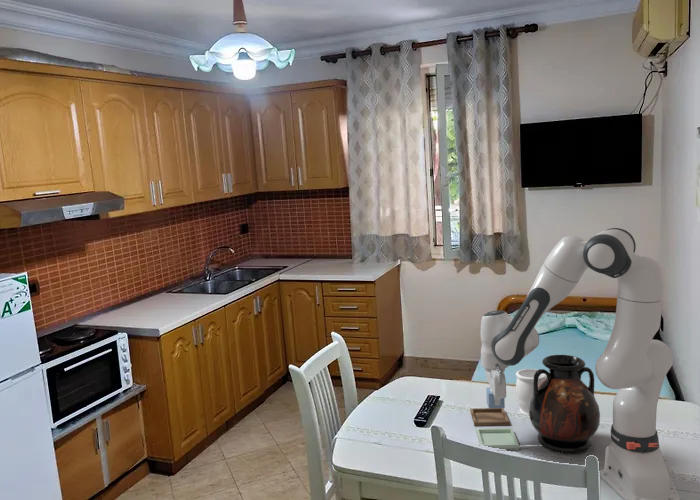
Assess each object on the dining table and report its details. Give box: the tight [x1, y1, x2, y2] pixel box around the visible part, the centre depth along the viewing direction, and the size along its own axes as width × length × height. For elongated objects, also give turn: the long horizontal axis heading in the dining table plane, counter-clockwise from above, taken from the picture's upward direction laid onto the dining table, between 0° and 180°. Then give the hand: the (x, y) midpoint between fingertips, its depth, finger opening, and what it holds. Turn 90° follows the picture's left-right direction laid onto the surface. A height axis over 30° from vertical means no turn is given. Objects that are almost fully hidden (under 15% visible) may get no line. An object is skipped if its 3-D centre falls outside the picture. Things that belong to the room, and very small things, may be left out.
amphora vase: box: [528, 354, 601, 455], centre depth 186 cm, size 22×22×28 cm
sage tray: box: [475, 427, 520, 451], centre depth 192 cm, size 12×12×2 cm
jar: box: [515, 368, 546, 416], centre depth 211 cm, size 11×10×15 cm
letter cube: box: [485, 387, 506, 409], centre depth 190 cm, size 5×5×5 cm
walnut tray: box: [469, 407, 510, 427], centre depth 208 cm, size 12×12×2 cm
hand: (495, 400), depth 190 cm, fingers closed on letter cube, 5 cm apart
